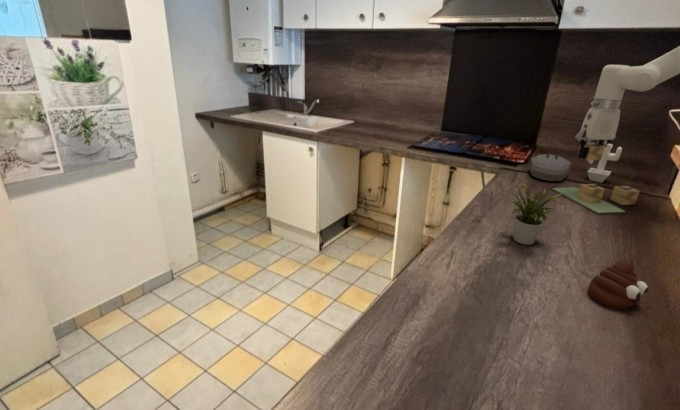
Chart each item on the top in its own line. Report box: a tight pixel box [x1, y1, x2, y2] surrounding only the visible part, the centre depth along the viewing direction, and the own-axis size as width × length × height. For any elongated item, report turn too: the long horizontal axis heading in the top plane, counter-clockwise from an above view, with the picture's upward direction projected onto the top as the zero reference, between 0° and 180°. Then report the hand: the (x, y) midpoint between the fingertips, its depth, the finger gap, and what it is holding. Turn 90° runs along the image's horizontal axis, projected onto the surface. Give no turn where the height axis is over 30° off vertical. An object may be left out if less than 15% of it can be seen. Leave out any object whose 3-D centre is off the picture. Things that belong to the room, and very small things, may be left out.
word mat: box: [551, 186, 626, 215], centre depth 125 cm, size 10×22×1 cm, turn 8°
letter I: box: [577, 183, 606, 203], centre depth 123 cm, size 5×5×5 cm
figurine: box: [587, 143, 623, 184], centre depth 142 cm, size 7×9×15 cm
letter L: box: [577, 142, 605, 162], centre depth 125 cm, size 5×5×5 cm
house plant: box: [507, 180, 564, 246], centre depth 95 cm, size 14×14×16 cm
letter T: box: [609, 185, 641, 206], centre depth 123 cm, size 5×5×5 cm
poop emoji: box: [588, 257, 649, 310], centre depth 73 cm, size 10×9×9 cm
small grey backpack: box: [529, 153, 572, 182], centre depth 148 cm, size 15×8×20 cm
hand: (589, 157), depth 126 cm, fingers closed on letter L, 5 cm apart
